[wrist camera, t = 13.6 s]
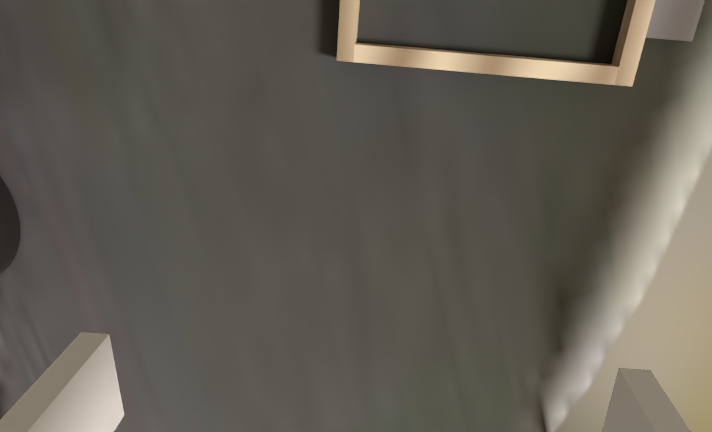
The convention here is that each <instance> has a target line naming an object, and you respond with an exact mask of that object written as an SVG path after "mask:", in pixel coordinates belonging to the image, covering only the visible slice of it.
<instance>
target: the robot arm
mask: <svg viewBox="0 0 712 432" xmlns="http://www.w3.org/2000/svg"><path fill="white" fill-rule="evenodd" d="M19 241H20V222H19V216H18V212H17V209H16V206H15V203H14V200H13V198H12V196H11V194H10V192H9V190H8V188H7V186H6V185H5V183H4V182H3V180H2V179H1V177H0V274H1V273H2V272H3V271H4V270H5V269H6V268H7V267H8V266H9V265H10V264H11V262H12V261H13V259H14V257H15V255H16V253H17V250H18V246H19ZM123 416H124V411H123V406H122V400H121V395H120V390H119V384H118V379H117V374H116V368H115V363H114V358H113V352H112V347H111V342H110V336H109V334H98V333H83V332H81V333H80V334H79V335H78V336H77V337H76V338H75V340H74V341H73V342H72V343H71V344H70V345H69V346H68V347H67V348H66V349H65V350H64V351H63V353H62V354H61V355H60V356H59V357H58V358H57V359H56V360H55V361H54V362H53V363H52V364H51V365H50V367H49V368H48V369H47V370H46V371H45V372H44V373H43V374H42V375H41V376H40V377H39V378H38V380H37V381H36V382H35V383H34V384H33V385H32V386H31V387H30V388H29V389H28V390H27V391H26V393H25V394H24V395H23V396H22V397H21V398H20V399H19V400H18V401H17V402H16V403H15V404H14V406H13V407H12V408H11V409H10V410H9V411H8V412H7V413H6V414H5V415H4V416H3V417H2V419H1V420H0V432H114V430H115V429H116V427H117V426H118V424H119V422H120V421H121V419H122V418H123ZM602 432H691V431H690V430H689V428H688V427H687V425H686V424H685V422H684V421H683V419H682V418H681V416H680V414H679V413H678V411H677V410H676V408H675V407H674V405H673V404H672V403H671V401H670V399H669V398H668V396H667V395H666V393H665V392H664V390H663V389H662V387H661V386H660V384H659V382H658V381H657V380H656V378H655V376H654V375H653V373H652V372H651V370H641V369H625V368H619V370H618V373H617V377H616V381H615V385H614V388H613V392H612V396H611V400H610V403H609V407H608V411H607V415H606V418H605V422H604V426H603V430H602Z"/></svg>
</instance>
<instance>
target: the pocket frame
mask: <svg viewBox="0 0 712 432" xmlns="http://www.w3.org/2000/svg"><path fill="white" fill-rule="evenodd" d="M704 1H705V0H627V4H626V8H625V12H624V16H623V20H622V24H621V28H620V32H619V36H618V40H617V44H616V48H615V52H614V56H613V60H612V64H604V63H592V62H581V61H569V60H557V59H545V58H534V57H522V56H510V55H498V54H487V53H475V52H463V51H451V50H440V49H428V48H416V47H404V46H393V45H381V44H369V43H357V31H358V16H359V2H360V0H340V9H339V27H338V44H337V61H346V62H358V63H369V64H381V65H392V66H403V67H415V68H426V69H438V70H449V71H461V72H472V73H484V74H495V75H506V76H518V77H529V78H541V79H552V80H564V81H575V82H587V83H598V84H609V85H621V86H632V85H633V82H634V78H635V74H636V71H637V67H638V63H639V60H640V56H641V52H642V49H643V45H644V41H645V37H646V38H658V39H670V40H682V41H693V37H694V34H695V31H696V27H697V24H698V21H699V18H700V14H701V11H702V8H703V4H704Z"/></svg>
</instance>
